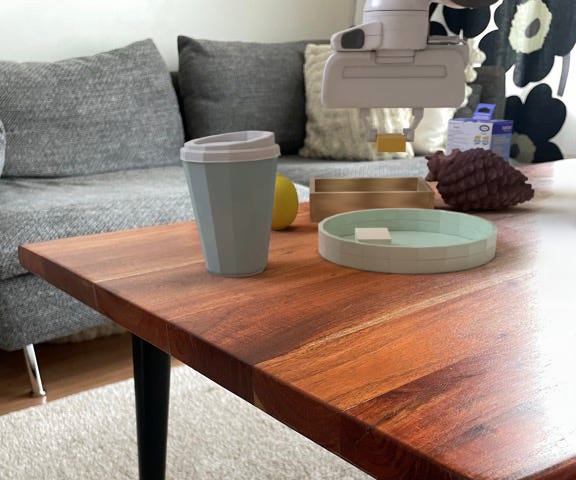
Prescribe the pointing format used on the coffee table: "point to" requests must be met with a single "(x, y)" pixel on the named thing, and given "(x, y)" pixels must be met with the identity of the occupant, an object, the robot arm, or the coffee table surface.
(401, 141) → the block
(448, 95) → the robot arm
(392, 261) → the round tray
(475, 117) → the ink cartridge box
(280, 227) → the lemon
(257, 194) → the disposable coffee cup
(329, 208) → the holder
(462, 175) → the pine cone
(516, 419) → the coffee table surface
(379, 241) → the block
